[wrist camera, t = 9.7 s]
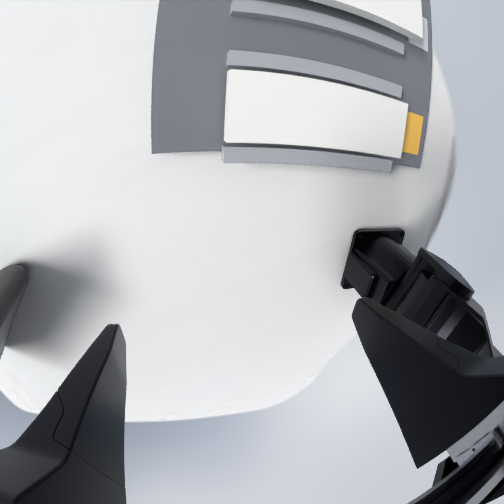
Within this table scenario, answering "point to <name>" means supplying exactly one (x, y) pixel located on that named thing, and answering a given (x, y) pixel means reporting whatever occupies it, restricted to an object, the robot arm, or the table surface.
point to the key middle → (386, 13)
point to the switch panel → (284, 62)
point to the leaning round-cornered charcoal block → (10, 297)
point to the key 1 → (311, 114)
